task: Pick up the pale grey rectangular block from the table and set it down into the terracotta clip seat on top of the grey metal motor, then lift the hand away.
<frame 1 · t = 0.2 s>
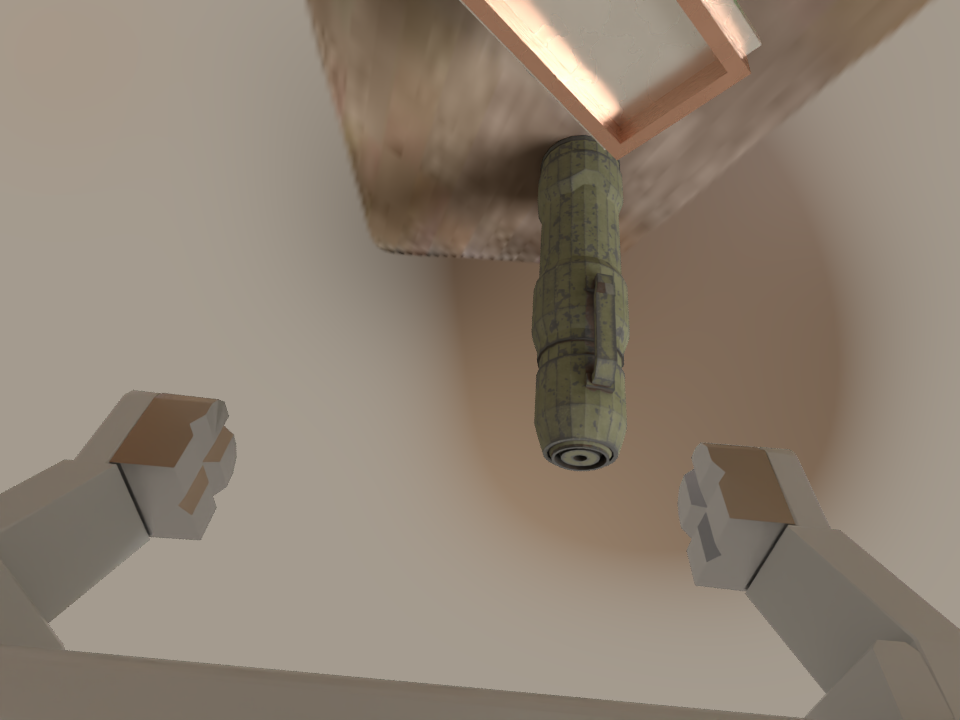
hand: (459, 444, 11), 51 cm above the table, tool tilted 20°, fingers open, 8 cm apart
thermos: (579, 167, 69), on the table
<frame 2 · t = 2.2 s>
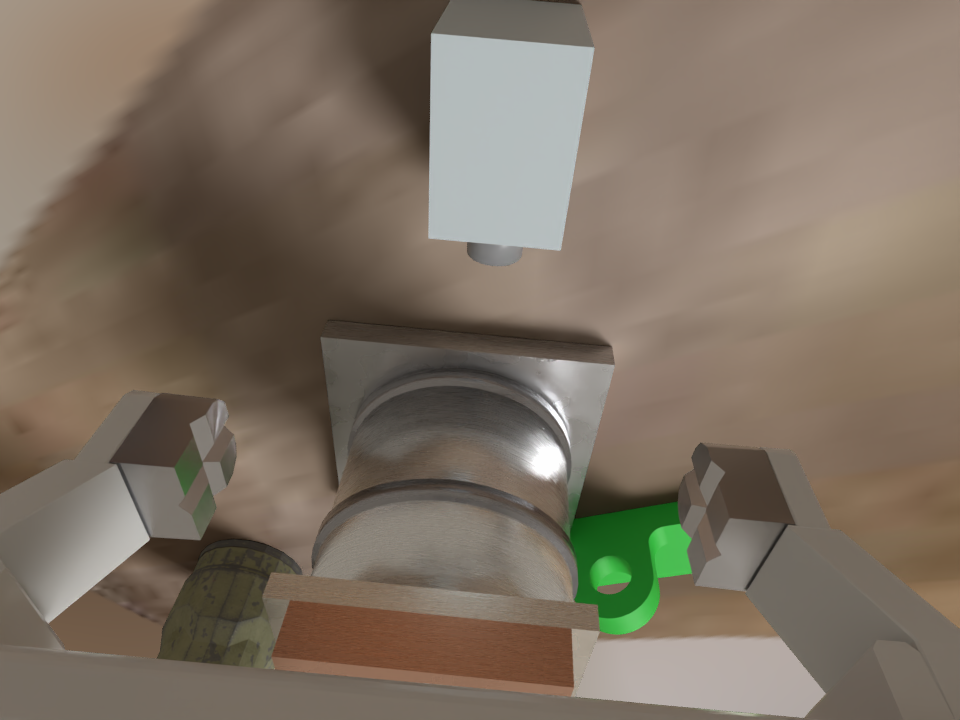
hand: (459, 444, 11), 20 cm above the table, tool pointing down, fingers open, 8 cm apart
mechanical part: (657, 526, 45), on the table
thermos: (252, 567, 52), on the table
pale grey rectangular block: (509, 92, 26), on the table
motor: (462, 432, 40), on the table
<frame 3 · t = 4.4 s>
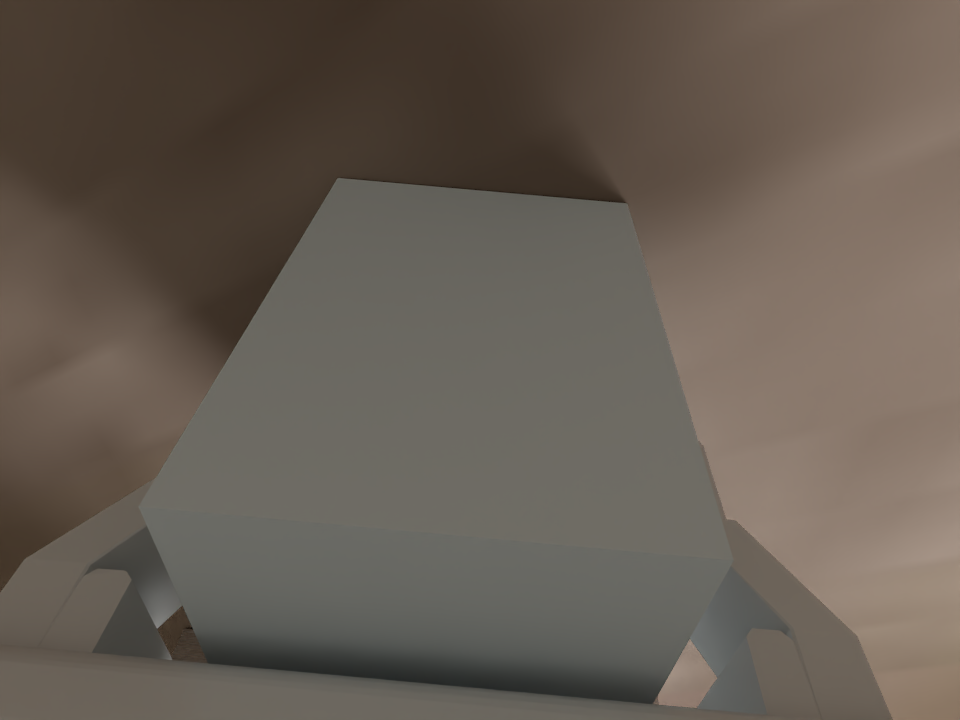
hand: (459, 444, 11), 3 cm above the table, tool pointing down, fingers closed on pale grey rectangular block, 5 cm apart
pale grey rectangular block: (470, 350, 13), on the table, touching gripper
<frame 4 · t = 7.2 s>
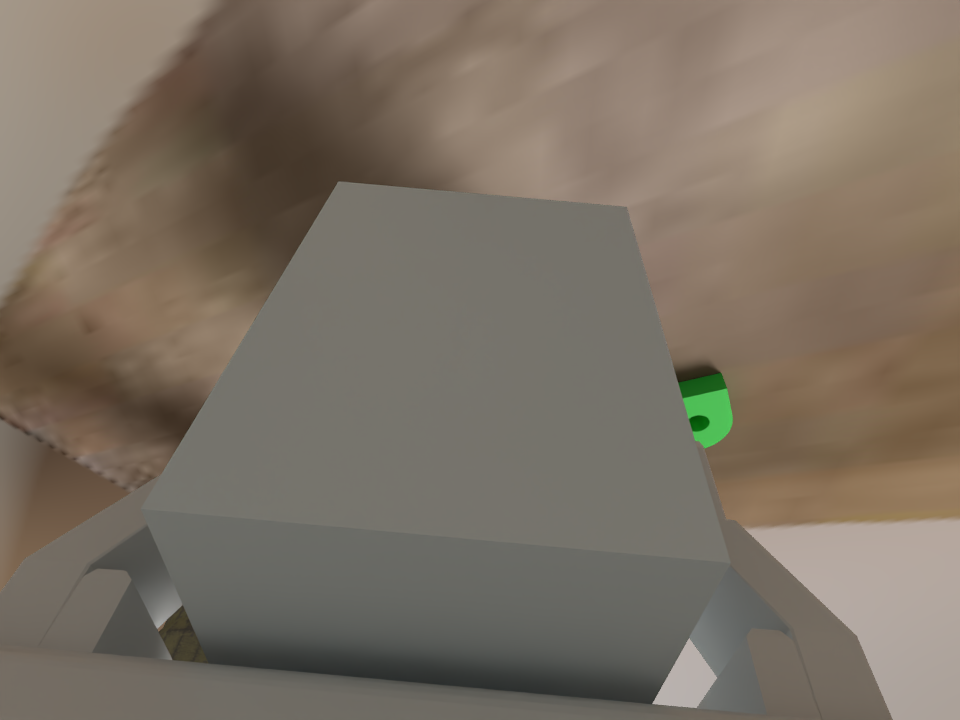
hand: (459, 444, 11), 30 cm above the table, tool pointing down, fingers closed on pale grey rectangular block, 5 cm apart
mechanical part: (649, 413, 51), on the table
thermos: (287, 468, 58), on the table
pale grey rectangular block: (470, 353, 13), point 27 cm above the table, touching gripper
when the fingers open (20 cm above the table, at t = 10.3 s): pale grey rectangular block stays where it is, resting on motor.
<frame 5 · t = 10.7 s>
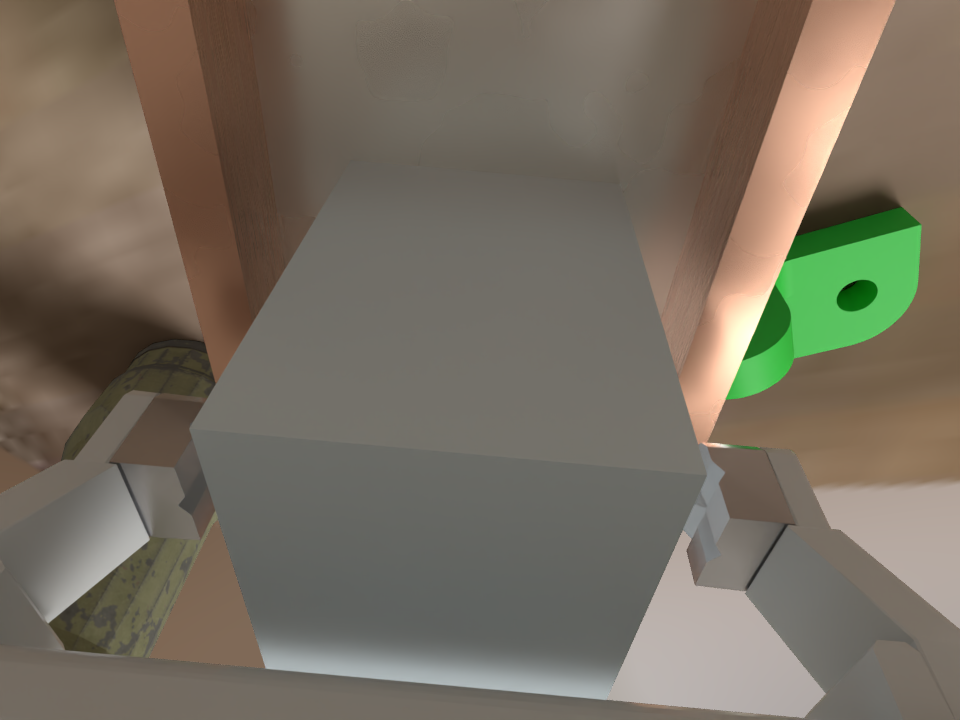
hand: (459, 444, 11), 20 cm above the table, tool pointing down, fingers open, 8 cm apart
mechanical part: (767, 290, 32), on the table
thermos: (202, 393, 39), on the table
pale grey rectangular block: (473, 326, 14), point 17 cm above the table, touching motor
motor: (498, 103, 27), on the table
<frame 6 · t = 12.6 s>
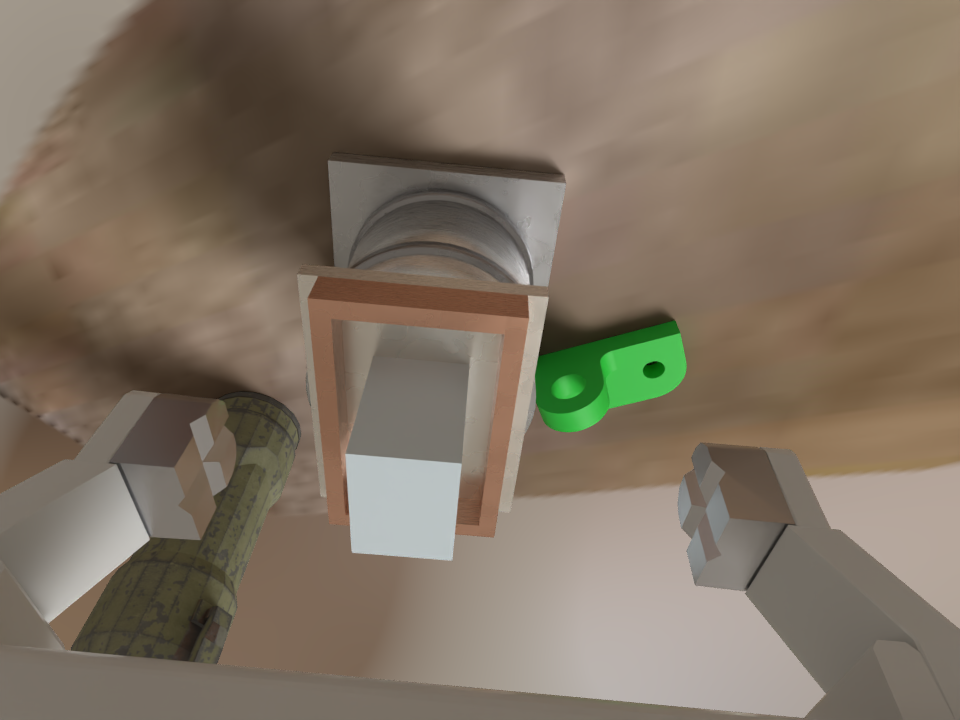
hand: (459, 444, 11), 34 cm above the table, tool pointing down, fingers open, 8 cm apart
mechanical part: (609, 363, 53), on the table
thermos: (255, 425, 59), on the table
pale grey rectangular block: (419, 410, 34), point 17 cm above the table, touching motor
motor: (443, 266, 47), on the table
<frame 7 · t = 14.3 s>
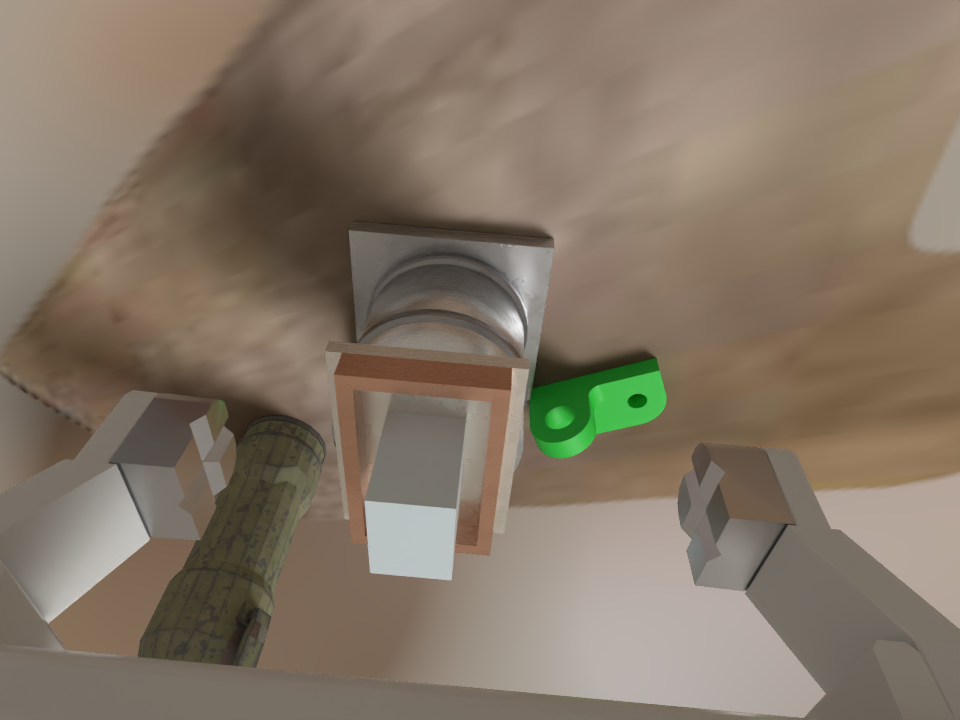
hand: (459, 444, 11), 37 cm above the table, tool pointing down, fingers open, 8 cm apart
mechanical part: (598, 393, 60), on the table
thermos: (286, 443, 66), on the table
pale grey rectangular block: (426, 453, 41), point 17 cm above the table, touching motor
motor: (449, 312, 54), on the table
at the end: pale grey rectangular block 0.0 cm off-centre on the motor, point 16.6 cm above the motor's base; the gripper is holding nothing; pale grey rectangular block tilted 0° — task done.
